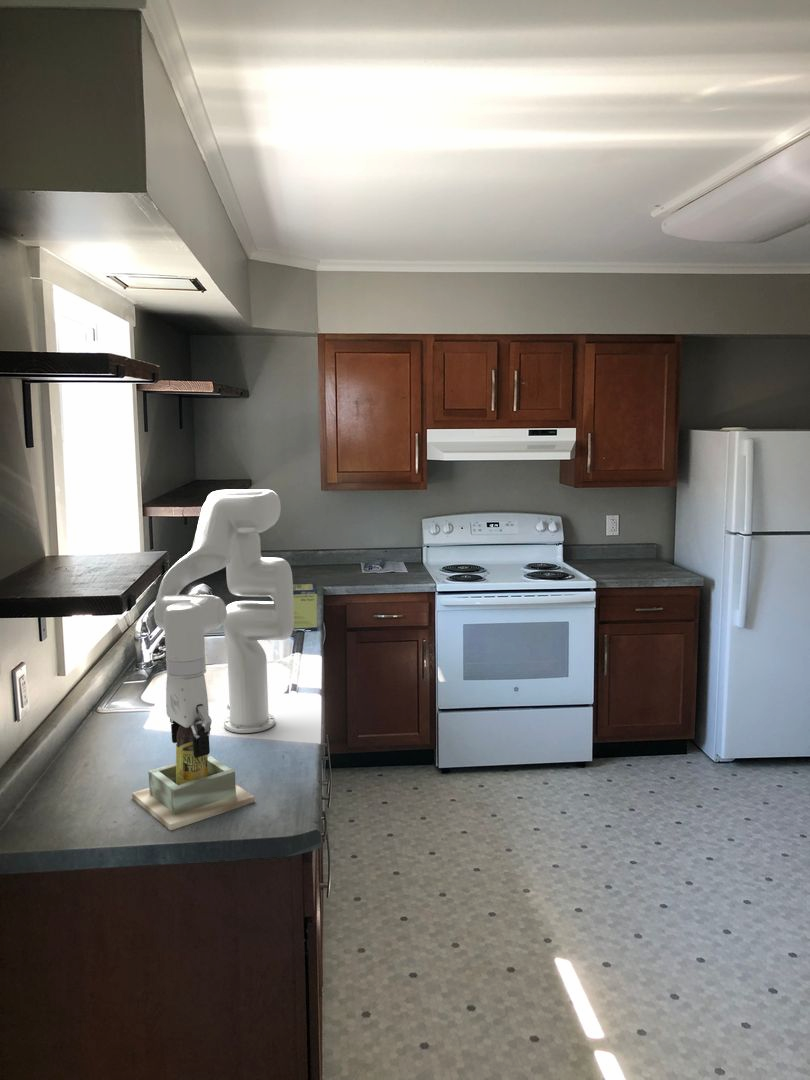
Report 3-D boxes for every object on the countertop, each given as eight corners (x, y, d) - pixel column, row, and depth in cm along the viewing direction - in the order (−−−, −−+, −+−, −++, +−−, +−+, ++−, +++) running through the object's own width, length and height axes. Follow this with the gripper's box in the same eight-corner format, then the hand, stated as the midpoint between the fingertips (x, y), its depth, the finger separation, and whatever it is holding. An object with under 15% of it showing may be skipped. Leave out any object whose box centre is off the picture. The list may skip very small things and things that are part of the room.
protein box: (318, 631, 306) (317, 588, 304) (274, 633, 304) (273, 590, 302) (317, 624, 317) (316, 583, 314) (275, 626, 314) (273, 584, 312)
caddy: (132, 798, 173) (130, 769, 172) (212, 774, 185) (211, 746, 184) (170, 830, 160) (168, 799, 159) (254, 802, 171) (253, 772, 170)
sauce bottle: (183, 803, 168) (179, 705, 165) (171, 792, 173) (168, 697, 170) (214, 795, 172) (211, 699, 169) (202, 784, 177) (199, 691, 174)
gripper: (150, 660, 172) (154, 740, 175) (188, 680, 159) (192, 766, 162) (184, 653, 177) (188, 731, 180) (224, 671, 164) (228, 756, 166)
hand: (190, 748), depth 171 cm, fingers open, 9 cm apart
